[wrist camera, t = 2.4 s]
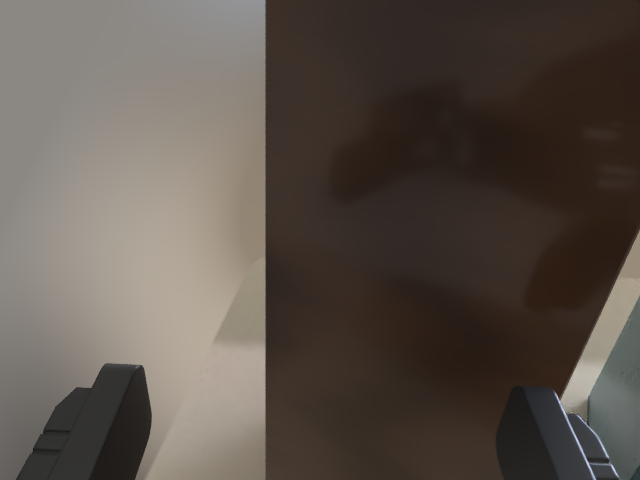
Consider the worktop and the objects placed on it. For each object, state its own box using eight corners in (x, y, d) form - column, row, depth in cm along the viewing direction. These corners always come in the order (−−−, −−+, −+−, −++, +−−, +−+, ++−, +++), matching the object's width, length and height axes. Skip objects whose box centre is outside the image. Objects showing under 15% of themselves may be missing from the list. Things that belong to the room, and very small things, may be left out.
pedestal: (238, 590, 27) (185, -252, 9) (356, 366, 40) (428, -161, 22) (450, 708, 24) (1010, -269, 6) (504, 421, 37) (728, -150, 19)
